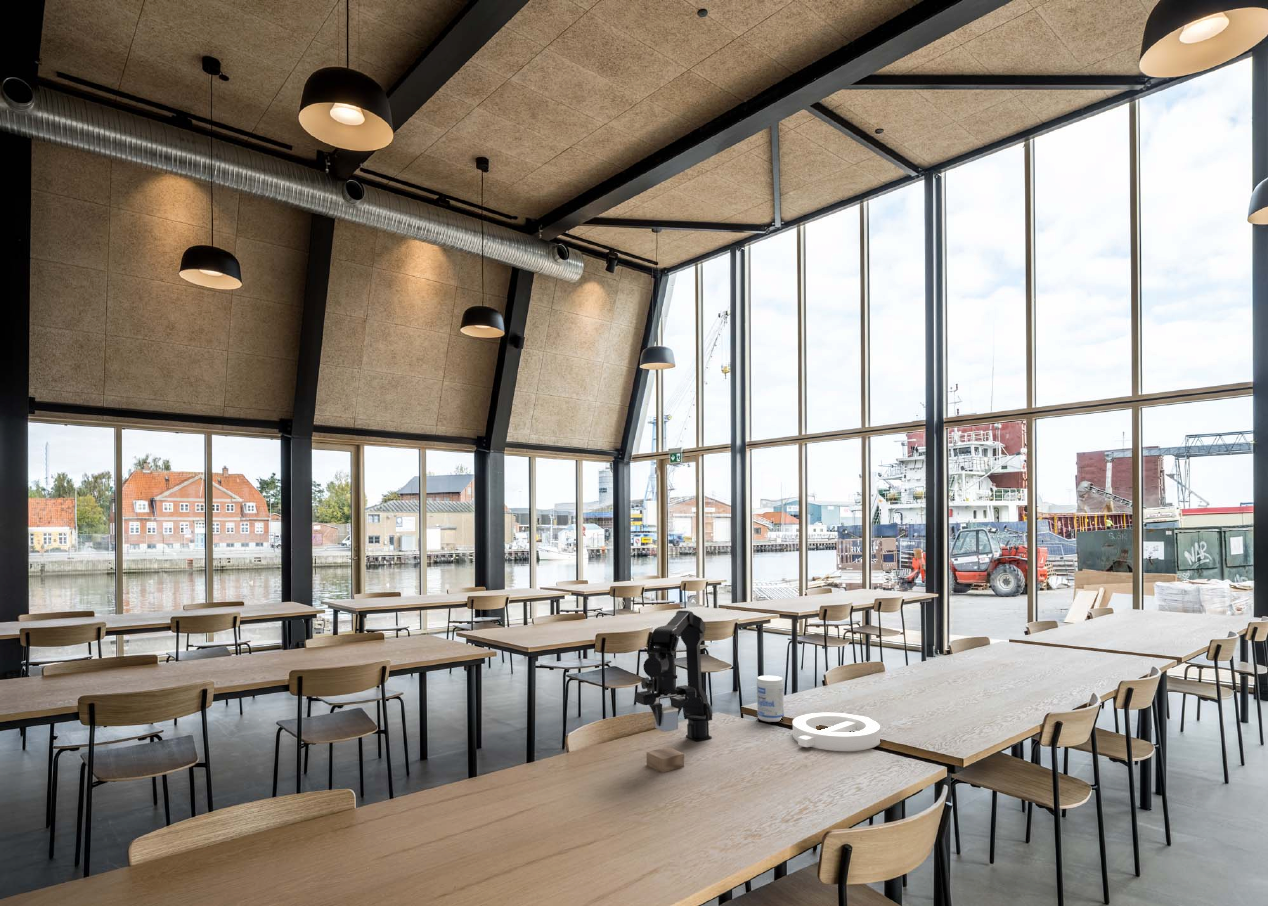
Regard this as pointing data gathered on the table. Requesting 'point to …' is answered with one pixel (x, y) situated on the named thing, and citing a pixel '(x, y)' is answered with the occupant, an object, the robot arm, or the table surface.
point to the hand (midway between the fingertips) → (666, 724)
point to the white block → (668, 719)
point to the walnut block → (665, 759)
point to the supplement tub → (770, 698)
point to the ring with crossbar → (836, 731)
